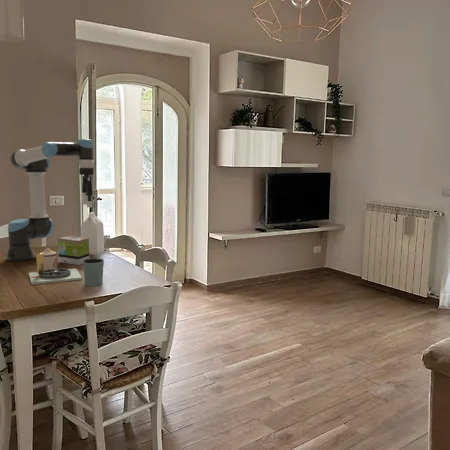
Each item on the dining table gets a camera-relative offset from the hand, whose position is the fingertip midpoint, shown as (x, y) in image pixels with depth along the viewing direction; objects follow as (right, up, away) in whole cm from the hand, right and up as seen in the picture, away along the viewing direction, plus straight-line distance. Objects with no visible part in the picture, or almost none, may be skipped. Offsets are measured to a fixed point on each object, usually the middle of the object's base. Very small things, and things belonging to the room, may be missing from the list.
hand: (87, 205), depth 262 cm
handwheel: (-12, -36, -18) cm, 42 cm away
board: (-12, -38, -18) cm, 43 cm away
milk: (-9, -29, +42) cm, 51 cm away
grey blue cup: (+12, -40, -29) cm, 51 cm away
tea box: (-12, -33, +15) cm, 38 cm away
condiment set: (-21, -35, -1) cm, 41 cm away
